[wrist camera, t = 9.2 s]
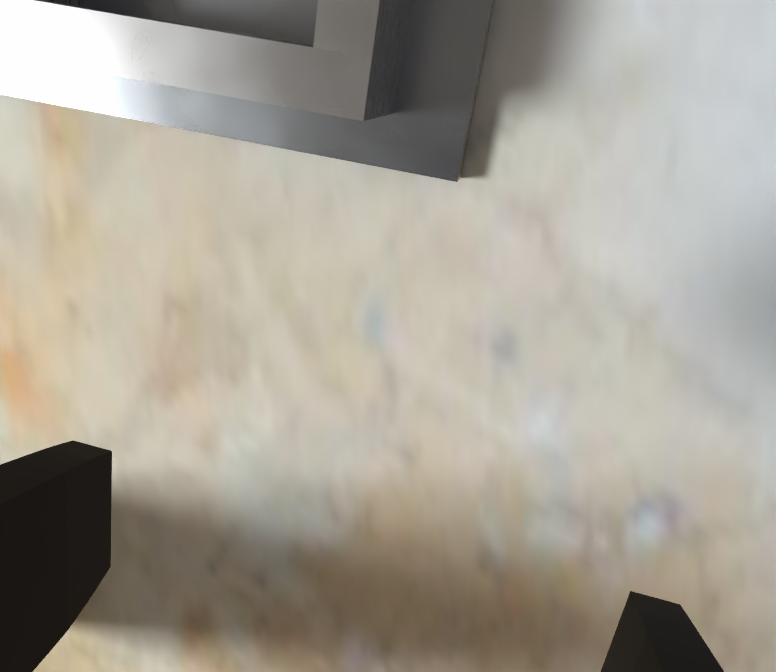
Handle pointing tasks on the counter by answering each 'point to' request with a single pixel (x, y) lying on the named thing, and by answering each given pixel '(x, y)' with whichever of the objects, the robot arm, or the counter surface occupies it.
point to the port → (264, 70)
